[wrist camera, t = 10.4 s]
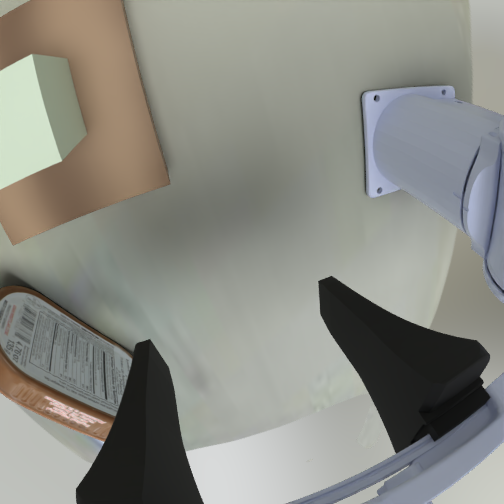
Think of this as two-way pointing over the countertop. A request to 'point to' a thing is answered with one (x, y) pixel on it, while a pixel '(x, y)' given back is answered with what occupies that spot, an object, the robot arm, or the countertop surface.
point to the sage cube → (37, 116)
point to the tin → (59, 364)
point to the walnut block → (84, 115)
